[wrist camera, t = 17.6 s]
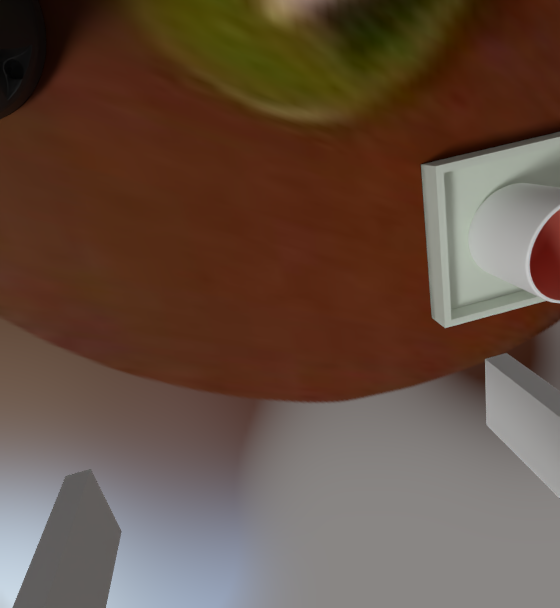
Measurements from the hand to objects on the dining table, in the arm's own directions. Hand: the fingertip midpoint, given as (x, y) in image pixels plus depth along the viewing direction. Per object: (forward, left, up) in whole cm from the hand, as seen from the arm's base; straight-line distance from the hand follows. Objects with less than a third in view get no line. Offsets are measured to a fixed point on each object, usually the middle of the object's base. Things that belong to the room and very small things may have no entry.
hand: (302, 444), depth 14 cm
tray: (+6, +29, -32) cm, 43 cm away
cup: (+6, +29, -31) cm, 43 cm away
